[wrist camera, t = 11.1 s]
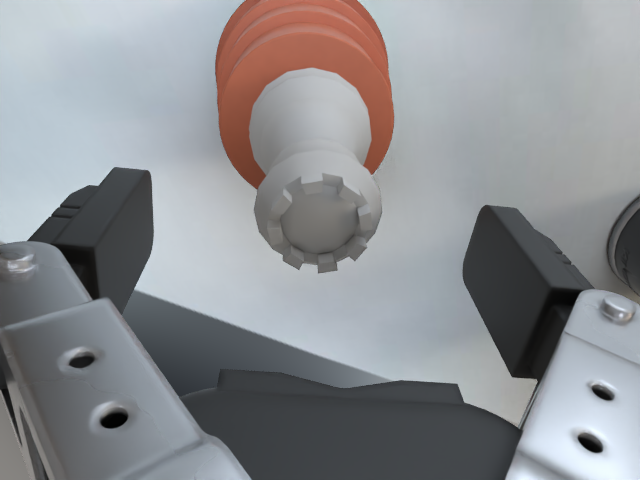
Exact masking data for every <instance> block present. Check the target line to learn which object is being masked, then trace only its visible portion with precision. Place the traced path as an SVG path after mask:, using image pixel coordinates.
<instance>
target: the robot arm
mask: <svg viewBox="0 0 640 480" xmlns="http://www.w3.org/2000/svg"><path fill="white" fill-rule="evenodd" d="M153 236H154V228H153V204H152V181H151V175H150V172H149V171H148V170H139V169H129V168H119V167H114V168H113V169H112V170H111V172H110V173H109V174H108V175H107V176H106V178H105V179H104V180H103V181H102V182H101V183H100V185H99V186H92V185H89V186H86V187H84V188H82V189H80V190H78V191H76V192H74V193H72V194H70V195H69V196H68V197H67V198H66V199H65V201H64V202H63V203H62V204H61V205H60V208H59V207H58V208H57V209H56V210H55V211H54V212H53V213H52V216H51V217H49V218H48V219H47V220H46V221H45V222H44V223H43V224H42V225H41V226H40V227H39V229H38V230H37V231H36V232H35V233H34V234H33V235H32V236H31V237H30V238H29V239H28V240H27V241H22V242H13V243H7V244H3V245H0V394H1V397H2V399H3V402H4V405H5V408H6V410H7V413H8V416H9V419H10V422H11V425H12V427H13V430H14V433H15V436H16V439H17V441H18V444H19V447H20V450H21V452H22V455H23V458H24V461H25V464H26V467H27V470H28V473H29V476H30V479H31V480H640V305H639V304H637V303H636V302H634V301H632V300H630V299H628V298H626V297H624V296H622V295H619V294H616V293H613V292H609V291H605V290H598V289H595V288H594V287H593V286H592V285H591V284H590V283H589V282H588V281H587V279H586V278H585V277H584V276H583V275H582V274H581V273H580V272H579V270H578V269H577V268H576V267H575V266H574V265H571V261H570V260H569V259H568V258H567V257H566V256H565V255H562V251H561V250H560V249H559V248H558V247H557V246H556V244H555V243H554V242H553V241H552V240H551V239H549V238H548V237H546V236H544V235H543V234H541V233H540V232H538V231H537V230H535V229H534V228H533V227H532V225H531V224H530V223H529V222H528V221H527V220H526V218H525V217H524V216H523V215H522V214H521V213H520V212H519V210H518V209H516V208H510V207H500V206H490V205H485V206H484V207H482V209H481V210H480V212H479V214H478V217H477V220H476V223H475V226H474V230H473V233H472V236H471V239H470V242H469V245H468V248H467V252H466V255H465V258H464V262H463V280H464V283H465V286H466V288H467V289H468V291H469V293H470V295H471V297H472V299H473V301H474V303H475V305H476V307H477V309H478V311H479V313H480V315H481V317H482V319H483V321H484V323H485V325H486V327H487V329H488V331H489V333H490V335H491V337H492V339H493V341H494V343H495V345H496V347H497V349H498V350H499V352H500V354H501V356H502V358H503V360H504V362H505V364H506V366H507V368H508V370H509V372H510V374H511V376H512V377H515V378H531V379H537V381H538V383H537V385H536V387H535V389H534V391H533V393H532V395H531V398H530V400H529V402H528V405H527V407H526V409H525V411H524V414H523V416H522V418H521V421H520V423H519V425H518V428H517V427H516V426H514V425H513V424H511V423H510V422H508V421H506V420H504V419H503V418H501V417H499V416H497V415H495V414H493V413H491V412H489V411H486V410H484V409H482V408H479V407H476V406H473V405H470V404H467V403H464V401H463V398H462V395H461V393H460V390H459V387H458V385H457V384H451V383H435V382H419V381H403V380H400V381H393V382H387V383H380V384H373V385H366V386H360V387H353V388H338V387H333V386H330V385H326V384H322V383H318V382H314V381H310V380H306V379H302V378H299V377H295V376H291V375H287V374H284V373H277V372H276V373H275V372H260V371H245V370H228V369H220V374H219V380H218V385H217V387H216V388H210V389H205V390H201V391H197V392H193V393H190V394H187V395H184V396H182V397H178V395H177V394H176V393H175V391H174V390H173V388H172V387H171V386H170V384H169V383H168V381H167V380H166V378H165V377H164V375H163V374H162V373H161V371H160V370H159V368H158V367H157V365H156V364H155V363H154V361H153V360H152V358H151V357H150V356H149V354H148V353H147V351H146V350H145V348H144V347H143V346H142V344H141V343H140V341H139V340H138V339H137V337H136V336H135V334H134V333H133V331H132V330H131V328H130V327H129V326H128V324H127V323H126V321H125V320H124V318H123V317H122V316H121V315H122V313H123V311H124V309H125V307H126V305H127V303H128V300H129V298H130V296H131V294H132V292H133V290H134V288H135V286H136V284H137V282H138V280H139V278H140V275H141V273H142V271H143V269H144V267H145V265H146V263H147V261H148V259H149V257H150V254H151V250H152V245H153ZM608 257H609V262H610V265H611V267H612V269H613V271H614V272H615V274H616V275H617V276H618V277H619V278H620V279H621V280H622V281H623V282H624V283H625V284H627V285H628V286H629V287H630V288H631V289H632V290H633V291H634V292H635V293H636V294H637V295H638V296H640V198H639V199H637V200H636V201H635V202H634V203H633V204H632V205H631V206H630V207H629V208H628V209H627V210H626V211H625V213H624V214H623V215H622V217H621V218H620V219H619V221H618V223H617V224H616V226H615V228H614V230H613V232H612V235H611V238H610V241H609V247H608Z"/></svg>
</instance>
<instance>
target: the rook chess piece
mask: <svg viewBox="0 0 640 480" xmlns="http://www.w3.org/2000/svg"><path fill="white" fill-rule="evenodd" d="M249 131H250V134H249V138H250V143H251V147H252V151H253V156H254V159H255V161H256V162H257V164H258V165H259V166H260V168H261V169H262V170H263V172H264V173H265V175H266V177H265V179H264V180H263V181H262V183H261V184H260V186H259V187H258V191H257V196H256V201H255V206H254V213H255V217H256V221H257V225H258V229H259V232H260V233H261V235H262V236H263V237H264V239H265V240H266V241H267V242H268V244H269V245H270V246H271V248H272V249H273V250H275V251H277V252H278V253H280V254H282V255H283V261H284V262H286V263H288V264H289V265H291V266H293V267H295V268H296V269H298V270H299V269H300V267H301V265H302V263H307V264H313V265H318V273H324V272H330V271H337V263H336V262H338V261H341V260H343V259H345V258H346V257H348V256H349V257H350V258H352V259H353V260H354V261H355V260H356V259H357V258H358V257H359V256H360V255H361V254H362V253H363V251H364V250H365V249H366V248H367V245H366V243H367V242H368V241H369V239H370V238H371V237H372V236H373V235H374V234H375V232H376V229H377V226H378V223H379V220H380V217H381V214H382V205H381V195H380V189H379V187H378V186H377V184H376V182H375V181H374V179H373V177H372V176H371V174H370V172H369V171H368V169H366V168H365V167H364V166H363V165H364V163H365V160H366V157H367V153H368V150H369V147H370V143H371V140H372V139H371V129H370V120H369V116H368V109H367V107H366V105H365V103H364V101H363V100H362V98H361V96H360V94H359V92H358V91H357V89H356V88H355V87H354V86H352V85H351V84H350V83H349V82H347V81H346V80H345V79H343V78H342V77H341V76H339V75H338V74H337V73H333V72H329V71H325V70H320V69H316V68H306V69H300V70H294V71H289V72H286V73H285V74H283V75H282V76H280V77H278V78H277V79H275V80H274V81H272V82H271V83H269V84H268V85H266V87H265V88H264V90H263V91H262V93H261V94H260V96H259V97H258V99H257V100H256V102H255V103H254V105H253V108H252V114H251V120H250V125H249Z"/></svg>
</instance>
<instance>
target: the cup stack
mask: <svg viewBox="0 0 640 480" xmlns="http://www.w3.org/2000/svg"><path fill="white" fill-rule="evenodd" d="M306 68H316V69H320V70H325V71H329V72H333V73H337V74H338V75H339V76H341V77H342V78H343V79H345V80H346V81H347V82H349V83H350V84H351V85H352V86H354V87H355V88H356V89H357V91H358V92H359V94H360V96H361V98H362V100H363V101H364V103H365V105H366V107H367V109H368V116H369V120H370V129H371V139H372V140H371V143H370V147H369V150H368V153H367V157H366V160H365V163H364V165H363V166H364V167H365V168H366V169H368V171H369V172H370V174H371V175H372V174H373V173H374V172H375V171H376V169H377V168H378V167H379V165H380V163H381V162H382V160H383V159H384V157H385V154H386V152H387V150H388V148H389V145H390V141H391V138H392V133H393V127H394V110H393V102H392V94H391V84H390V79H389V72H388V58H387V52H386V47H385V43H384V40H383V38H382V35H381V32H380V30H379V28H378V26H377V24H376V22H375V21H374V20H373V18H372V17H371V15H370V14H369V12H368V11H367V10H366V9H365V8H364V7H363V6H362V5H361V4H360V3H359V2H358V1H357V0H245V1H244V2H243V3H242V4H241V5H240V6H239V7H238V9H237V10H236V11H235V12H234V14H233V15H232V16H231V18H230V19H229V21H228V23H227V24H226V26H225V28H224V30H223V33H222V35H221V38H220V41H219V45H218V48H217V54H216V62H215V74H216V82H217V104H218V112H219V129H220V136H221V139H222V143H223V146H224V149H225V151H226V154H227V156H228V158H229V159H230V161H231V163H232V165H233V166H234V167H235V169H236V170H237V171H238V173H239V174H240V175H241V176H242V177H243V178H244V179H245V180H246V181H247V182H248V183H249V184H251V185H252V186H253V187H254V188H256V189H258V187H259V186H260V184H261V183H262V181H263V180H264V179H265V177H266V175H265V173H264V172H263V170H262V169H261V168H260V166H259V165H258V164H257V162H256V161H255V159H254V156H253V151H252V147H251V143H250V138H249V134H250V131H249V125H250V120H251V114H252V108H253V105H254V103H255V102H256V100H257V99H258V97H259V96H260V94H261V93H262V91H263V90H264V88H265V87H266V85H268V84H269V83H271V82H272V81H274V80H275V79H277V78H278V77H280V76H282V75H283V74H285V73H286V72H289V71H294V70H300V69H306Z"/></svg>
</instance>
